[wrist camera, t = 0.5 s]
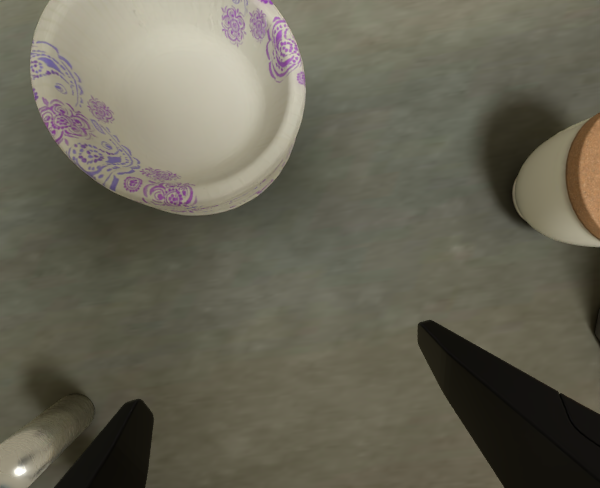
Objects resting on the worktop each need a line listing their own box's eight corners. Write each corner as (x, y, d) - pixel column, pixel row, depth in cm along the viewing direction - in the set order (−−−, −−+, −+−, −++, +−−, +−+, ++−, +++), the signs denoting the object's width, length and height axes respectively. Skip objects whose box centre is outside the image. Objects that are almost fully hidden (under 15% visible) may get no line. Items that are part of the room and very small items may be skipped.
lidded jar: (472, 169, 27) (583, 127, 18) (558, 124, 28) (702, 62, 19) (519, 268, 27) (651, 278, 18) (601, 219, 29) (763, 205, 20)
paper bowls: (322, 100, 25) (349, 32, 17) (242, 251, 24) (233, 253, 16) (163, 6, 24) (113, -116, 16) (69, 164, 22) (-36, 118, 14)
